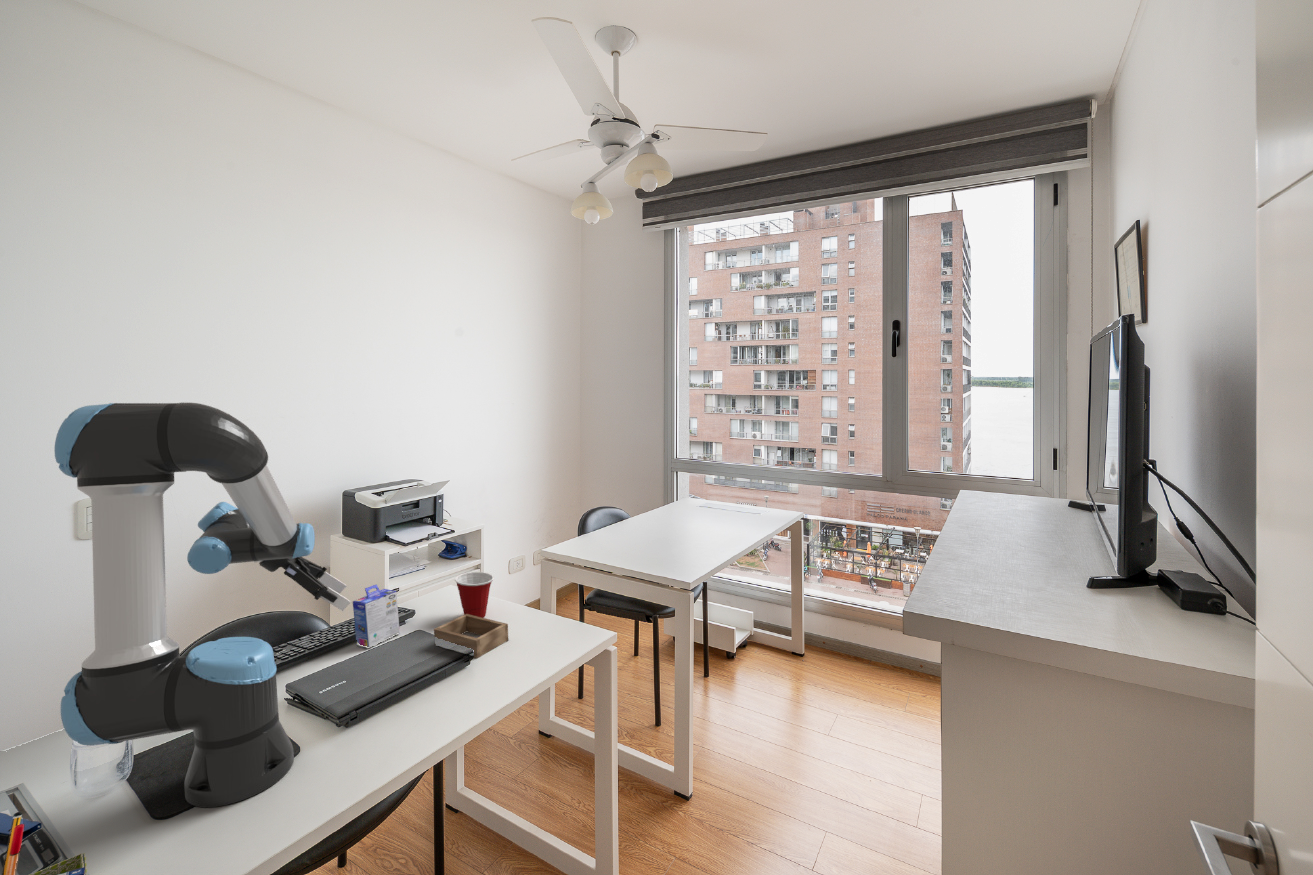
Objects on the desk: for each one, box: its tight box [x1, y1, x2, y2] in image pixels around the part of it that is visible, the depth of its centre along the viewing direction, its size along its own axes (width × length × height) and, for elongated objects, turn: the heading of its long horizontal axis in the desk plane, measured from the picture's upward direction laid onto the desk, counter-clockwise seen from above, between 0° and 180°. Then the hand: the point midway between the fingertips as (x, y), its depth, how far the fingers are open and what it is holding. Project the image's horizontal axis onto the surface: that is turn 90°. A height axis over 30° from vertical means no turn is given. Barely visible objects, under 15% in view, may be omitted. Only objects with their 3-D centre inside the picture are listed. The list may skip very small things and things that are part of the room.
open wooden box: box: [433, 614, 509, 659], centre depth 147 cm, size 11×15×4 cm
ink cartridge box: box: [352, 584, 400, 649], centre depth 149 cm, size 10×6×14 cm, turn 155°
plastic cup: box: [454, 571, 495, 618], centre depth 164 cm, size 11×11×12 cm
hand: (344, 597), depth 145 cm, fingers open, 13 cm apart
